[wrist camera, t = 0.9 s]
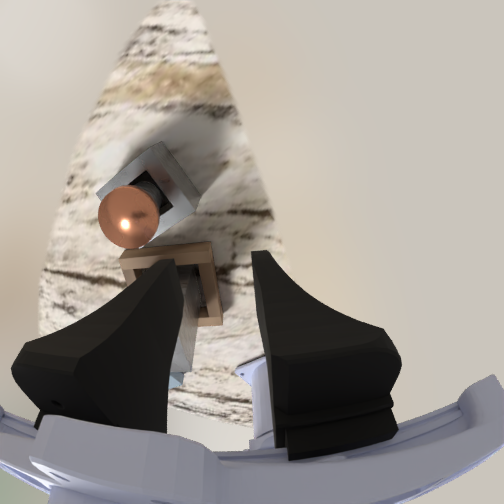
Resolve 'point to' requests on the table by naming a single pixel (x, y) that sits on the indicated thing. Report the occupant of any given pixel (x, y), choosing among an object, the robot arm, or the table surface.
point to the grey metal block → (187, 319)
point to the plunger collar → (160, 184)
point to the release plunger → (130, 214)
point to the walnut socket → (182, 256)
